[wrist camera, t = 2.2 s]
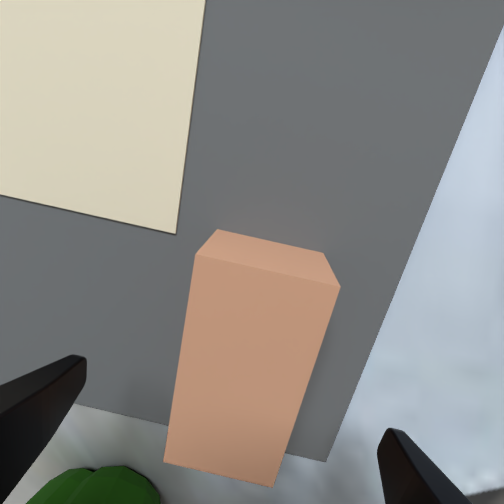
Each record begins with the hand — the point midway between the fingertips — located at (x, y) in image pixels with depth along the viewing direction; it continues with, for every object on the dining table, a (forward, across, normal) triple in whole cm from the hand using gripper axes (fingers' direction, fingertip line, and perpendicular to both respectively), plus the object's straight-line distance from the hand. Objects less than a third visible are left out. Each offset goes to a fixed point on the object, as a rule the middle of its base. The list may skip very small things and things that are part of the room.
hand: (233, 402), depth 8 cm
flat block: (+4, 0, 0) cm, 4 cm away
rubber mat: (+4, +4, -4) cm, 7 cm away
